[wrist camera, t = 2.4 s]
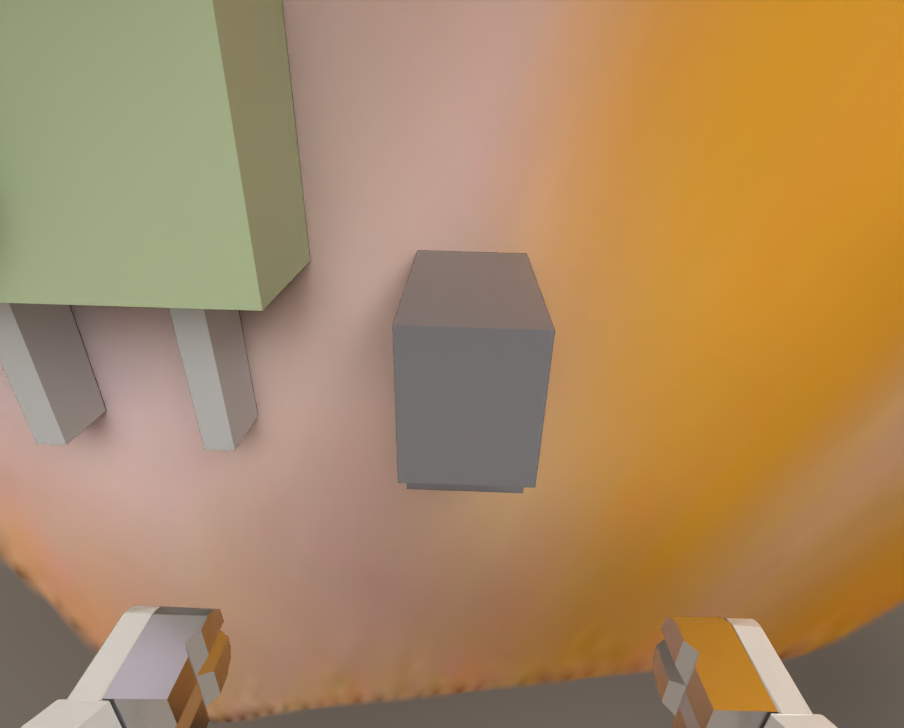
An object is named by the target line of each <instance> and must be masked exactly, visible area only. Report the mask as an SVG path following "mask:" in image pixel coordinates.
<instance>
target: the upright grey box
mask: <svg viewBox="0 0 904 728" xmlns="http://www.w3.org/2000/svg"><path fill="white" fill-rule="evenodd" d="M554 335H555V329H554V326H553V323H552V320H551V318H550V315H549V312H548V310H547V307H546V304H545V302H544V299H543V296H542V293H541V291H540V288H539V285H538V283H537V280H536V277H535V274H534V272H533V269H532V266H531V264H530V261H529V258H528V255H527V253H496V252H461V251H427V250H418V251H417V254H416V257H415V260H414V263H413V266H412V269H411V272H410V275H409V278H408V281H407V283H406V286H405V289H404V292H403V295H402V298H401V301H400V304H399V307H398V310H397V313H396V316H395V319H394V322H393V352H394V380H395V409H396V438H397V466H398V483H407V489H424V490H451V491H478V492H504V493H523V487H532V488H535V485H536V477H537V470H538V462H539V454H540V446H541V438H542V430H543V422H544V414H545V406H546V398H547V390H548V382H549V374H550V366H551V359H552V351H553V343H554Z"/></svg>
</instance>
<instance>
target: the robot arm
mask: <svg viewBox="0 0 904 728" xmlns="http://www.w3.org/2000/svg"><path fill="white" fill-rule="evenodd" d="M223 622H224V620H223V617H222V614H221V611H220V609H213V608H188V607H163V606H132V607H131V608H130V609H128V610H127V611H126V612H125V613H124V614H123V615H122V616H121V618H120V619H119V621H118V622H117V624H116V625H115V627H114V628H113V630H112V631H111V633H110V635H109V636H108V638H107V639H106V641H105V642H104V644H103V645H102V647H101V648H100V650H99V651H98V653H97V654H96V656H95V657H94V659H93V660H92V662H91V664H90V665H89V666H88V668H87V670H86V671H85V673H84V674H83V676H82V677H81V679H80V680H79V682H78V683H77V685H76V687H75V688H74V689H73V691H72V692H71V694H70V696H69V697H68V698H67V699H58V700H57V701H55V702H54V703H53V704H51V705H50V706H49V707H47V708H46V709H44V710H43V711H42V712H40V713H39V714H38V715H37V716H35V717H34V718H32V719H31V720H30V721H28V722H27V723H26V724H24V725H23V726H22V727H21V728H207V726H208V723H209V721H210V720H209V716H208V712H207V708H206V706H207V705H208V704H210V703H211V702H212V701H213V700H214V699H215V698H216V697H217V696H218V695H219V694H220V693H221V691H222V688H223V685H224V683H225V680H226V677H227V673H228V669H229V664H230V659H231V646H230V642H229V638H228V636H227V635H225V634H224V633H223V632H222V631H220V628H221V626H222V624H223ZM661 630H662V632H663V635H664V638H665V640H663V641H662V642H661V643H659V644H658V645H656V649H655V653H654V657H653V666H654V677H655V682H656V686H657V690H658V693H659V696H660V698H661V702H662V703H663V704H664V705H665V706H666V707H667V708H668V709H669V710H670V711H671V712H672V713H673V714H674V715H675V718H674V721H673V725H672V728H838V727H836V726H835V725H834V724H833V723H831V722H830V721H829V720H828V719H826V718H825V717H824V716H823V715H821V714H813V713H812V712H811V710H810V709H809V707H808V705H807V704H806V702H805V700H804V698H803V697H802V695H801V693H800V692H799V690H798V688H797V687H796V685H795V683H794V682H793V680H792V678H791V677H790V675H789V673H788V672H787V670H786V668H785V666H784V665H783V663H782V661H781V660H780V658H779V656H778V655H777V653H776V651H775V650H774V648H773V646H772V645H771V643H770V641H769V640H768V638H767V636H766V634H765V633H764V631H763V629H762V628H761V626H760V625H759V624H758V623H757V622H756V621H755V620H754V619H750V618H722V617H668V618H667V619H666V620H665V621H664V624H663V627H662V629H661Z"/></svg>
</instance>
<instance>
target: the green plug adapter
mask: <svg viewBox="0 0 904 728" xmlns="http://www.w3.org/2000/svg"><path fill="white" fill-rule="evenodd" d="M309 262H310V253H309V244H308V235H307V226H306V216H305V207H304V198H303V189H302V180H301V171H300V162H299V153H298V143H297V134H296V125H295V116H294V107H293V98H292V89H291V80H290V70H289V61H288V52H287V43H286V34H285V25H284V16H283V6H282V0H0V362H1V364H2V367H3V369H4V371H5V373H6V376H7V378H8V380H9V383H10V385H11V387H12V389H13V392H14V394H15V396H16V399H17V401H18V403H19V405H20V408H21V410H22V412H23V414H24V417H25V419H26V421H27V424H28V426H29V428H30V430H31V433H32V435H33V437H34V440H35V442H36V444H51V445H67V444H68V443H69V442H71V441H72V440H73V439H74V438H75V437H76V436H77V435H79V434H80V433H81V432H82V431H83V430H84V429H86V428H87V427H88V426H89V425H90V424H91V423H92V422H94V421H95V420H96V419H97V418H98V417H99V416H101V415H102V414H103V413H104V412H105V411H106V409H105V406H104V403H103V400H102V397H101V394H100V391H99V389H98V386H97V383H96V380H95V377H94V374H93V371H92V368H91V366H90V363H89V360H88V357H87V354H86V351H85V348H84V345H83V343H82V340H81V337H80V334H79V331H78V328H77V325H76V322H75V320H74V317H73V314H72V311H71V308H70V305H93V306H125V307H158V308H169V311H170V315H171V319H172V323H173V327H174V331H175V334H176V338H177V342H178V346H179V350H180V354H181V358H182V362H183V366H184V370H185V374H186V378H187V382H188V386H189V390H190V394H191V398H192V402H193V406H194V410H195V414H196V418H197V422H198V426H199V430H200V434H201V438H202V441H203V445H204V449H205V450H224V451H235V450H236V448H237V447H238V445H239V444H240V442H241V441H242V439H243V438H244V436H245V435H246V433H247V432H248V430H249V429H250V427H251V426H252V424H253V423H254V421H255V420H256V418H257V416H258V413H257V407H256V402H255V397H254V391H253V386H252V380H251V375H250V370H249V364H248V359H247V353H246V348H245V343H244V337H243V332H242V326H241V321H240V315H239V310H255V311H263V310H264V309H265V308H266V307H267V305H268V304H269V303H270V302H271V301H272V300H273V299H274V298H275V297H276V296H277V295H278V294H279V293H280V292H281V291H282V290H283V289H284V288H285V287H286V286H287V285H288V284H289V283H290V281H291V280H292V279H293V278H294V277H295V276H296V275H297V274H298V273H299V272H300V271H301V270H302V269H303V268H304V267H305V266H306V265H307V264H308V263H309Z"/></svg>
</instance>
